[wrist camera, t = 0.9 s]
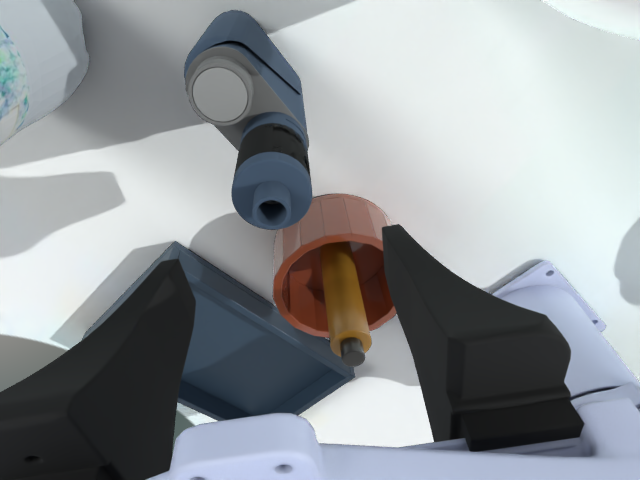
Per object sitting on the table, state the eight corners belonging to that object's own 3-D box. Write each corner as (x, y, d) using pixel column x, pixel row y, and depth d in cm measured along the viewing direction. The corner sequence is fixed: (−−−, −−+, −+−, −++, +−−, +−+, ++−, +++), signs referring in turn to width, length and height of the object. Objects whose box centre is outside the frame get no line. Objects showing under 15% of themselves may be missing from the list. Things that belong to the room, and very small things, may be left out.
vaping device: (272, 121, 23) (265, 265, 13) (197, 33, 20) (119, 132, 11) (312, 89, 22) (336, 218, 12) (239, -6, 20) (198, 61, 10)
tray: (351, 355, 34) (355, 377, 33) (261, 418, 38) (260, 440, 36) (175, 240, 27) (168, 260, 25) (85, 332, 31) (74, 354, 29)
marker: (358, 250, 28) (383, 357, 21) (334, 268, 28) (352, 378, 22) (336, 232, 27) (355, 338, 20) (312, 251, 28) (323, 361, 21)
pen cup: (419, 242, 28) (437, 286, 25) (332, 308, 31) (338, 356, 28) (337, 168, 25) (346, 206, 22) (248, 249, 28) (243, 295, 24)
